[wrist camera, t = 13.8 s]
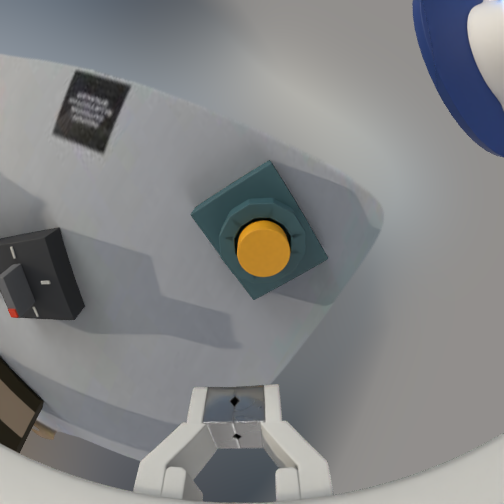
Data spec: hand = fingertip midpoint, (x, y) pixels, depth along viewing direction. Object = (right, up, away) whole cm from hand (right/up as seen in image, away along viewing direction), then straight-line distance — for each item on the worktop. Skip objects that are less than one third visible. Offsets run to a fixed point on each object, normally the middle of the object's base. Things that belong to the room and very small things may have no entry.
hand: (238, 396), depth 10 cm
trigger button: (+1, +6, +14) cm, 16 cm away
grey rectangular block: (-26, +2, +17) cm, 31 cm away
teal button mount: (+1, +7, +18) cm, 19 cm away
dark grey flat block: (-26, +3, +19) cm, 33 cm away
